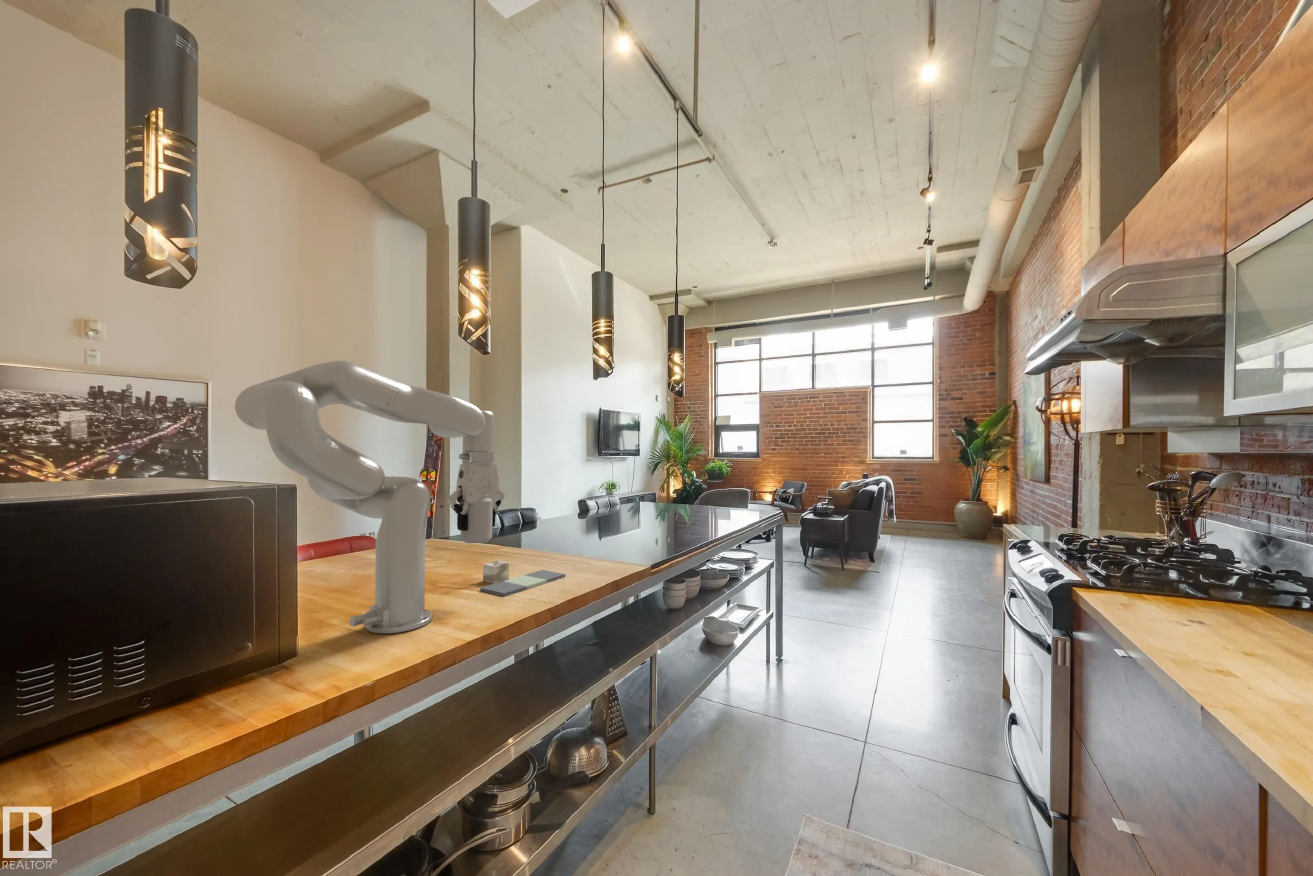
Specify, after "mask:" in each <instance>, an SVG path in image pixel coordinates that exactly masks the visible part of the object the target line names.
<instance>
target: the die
mask: <svg viewBox="0 0 1313 876" xmlns="http://www.w3.org/2000/svg"><path fill="white" fill-rule="evenodd" d="M509 571H510V562H507V561H501V560H495V561H491V562H486V563H483V564H482V582H484V581H485V582H484V583H488V582H489V583H488V584H495V583H498V582H502V581H505V580H509V579H510V572H509Z"/></svg>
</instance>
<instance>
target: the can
mask: <svg viewBox="0 0 1313 876" xmlns="http://www.w3.org/2000/svg"><path fill="white" fill-rule="evenodd" d="M480 496H481V497H482V498H480V499H479V500H478V501H476V503H475V504H469V508H468V510H467V512H466V514H468V530H467V531H462V530H460V540H462V542H464V543H466V544H483V543H488V542H489V541H490V540H491V539H492V538H493V527H492V518H493V500H491V499H490V498H488V496H489V495H480ZM463 501H464V500H463ZM463 506H464V504H463Z"/></svg>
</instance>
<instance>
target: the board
mask: <svg viewBox="0 0 1313 876" xmlns="http://www.w3.org/2000/svg"><path fill="white" fill-rule="evenodd" d="M564 576H565V577H566V573H562V572H556V571H551V570H545V569H541V570H540V569H539V570H537V571H533V572H530V573H527V574H523V575H520V576H515V577H513V578H509V580H505V581H502V582H498V583H495V584H493V583H491V584H489V585H485V586H482V587H480V589H479V590H480V592H484V593H489V594H492V595H496V596H502V597H507V596H510V595H513V594H516V593H519V592H523V591H526V590H529V589H532V588H535V587H538V586H540V584H541V585H544V584H547V583H546V582H548V583H550V582H549V581H551V582H553V581H552V580H554V581H557V580H560V579H562V577H563V578H565V577H564ZM559 578H560V579H559ZM556 579H557V580H556ZM543 583H544V584H543ZM537 585H538V586H537ZM534 586H535V587H534ZM531 587H532V588H531ZM528 588H529V589H528Z"/></svg>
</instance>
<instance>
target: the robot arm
mask: <svg viewBox="0 0 1313 876" xmlns="http://www.w3.org/2000/svg"><path fill="white" fill-rule="evenodd" d="M330 405H343V406H347V407H349V408H352V409H356V410H359V411H361V412H366V413H368V414H371V415H375V416H378V417H380V418H384V419H387V420H389V421H393V422H397V423H404V424H405V423H406V424H421V425H422V424H423V425H428V428H429V430H430V431H431V432H432V433H433V434H434V435H436V436H437V437H440V438H445V439H451V438H452V439H457V438H462V452H461V453H459V455H458V459H459V460H461V464H459V468H458V471H457V479H456V489H455V491H453V492H452V493H451V494H450V495H449V496H447V498H446V501H447V503H448V504H449V506H450V507H451V509H452V510H453V511H454V513H455V514H456V520H457V521H456V525H457V527H456V528H457V530H458V531H461V530H462V531H467V530H468V514H466V512H467V510H468V508H469V504H475V503H476V501H478V500H479V499H480V498H482V497H481V496H480V495H489V496H488V498H490V499H491V500H493V518H492V528H493V527H495V526H496V511H498V510H499V507H500V505H501V504H502V501H503V500H504V499H505V496H506V495H505V493H504V492H503V491H501V490H500V480H499V479H500V478H499V471H498V466H497V463H495V461H494V458H495V457H494V456H495V453H494V452H495V414H494V413H493V412H492V411H490V410H485V409H480V408H479V407H478V406H476V405H474V404H472V403H470V402H468V401H465V400H463V399H461V398H458V397H456V396H453V395H449V394H446V393H442V392H438V391H435V390H434V391H433V390H430V389H428V388H427V389H426V388H423V387H419V386H415V385H410V384H408V383H405V382H402V381H400V380H397V379H394V378H392V377H390V376H388V375H385V374H382V373H380V372H377V371H376V370H375V371H374V370H373V369H370V368H368V367H365V366H363V365H360V364H357V363H355V362H352V361H347V360H334V361H333V360H332V361H327V362H322V363H316V364H313V365H310V366H307V367H305V368H301V369H299V370H296V371H294V372H291V373H287V374H284V375H280V376H277V377H274V378H272V379H269V380H265V381H262V382H260V383H256V384H253V385H250V386H248V387H246V388H245V389H243V390H242V391H241V392H240V393H239V394H238V395H237V398H236V399H235V403H234V410H235V414H236V416H237V417H238V419H240V421H241V422H243V423H244V424H245V425H246V426H248V427H251V428H253V429H256V430H262V431H263V430H265V431H266V436H267V438H268V442H269V444H270V447H271V450H272V452H273V454H274V455H275V457H276V459H278V461H279V462H281V464H283V465H284V466H285V467H287V468H288V469H290V470H291V471H293V472H295V473H297V474H299V475H301V476H303V477H305V478H306V479H307V483H308V485H309V487H310V489H311V490H312V491H313V492H314V493H315V494H316V495H317V496H319V497H320V498H323V499H325V500H327V501H329V502H331V503H333V504H335V505H338V506H340V507H343V508H345V509H347V510H349V511H352V512H354V513H357V514H358V515H361V516H364V517H366V518H367V517H368V518H371V519H377V520H378V519H379V520H381V521H380V525H379V527H378V531H377V535H376V539H375V570H374V571H375V573H374V574H375V579H374V580H375V581H374V582H375V583H374V586H375V587H374V605H373V604H372V605H369V610H367V611H366V612H365V613H362V614H358V615H353V616H350V618H349V619H348V620H349V626H350V627H351V628H353V627H356V626H359V625H363V626H364V627H366V629H365V630H367V631H368V632H370V633H374V634H383V635H384V634H387V635H388V634H397V633H402V632H408V631H412V630H416V629H418V628H421V627H424V626H426V625H427V624H429V623H430V622H431V621H432V620H433V612H432V611H430V610H428V609H426V608H425V606H426V605H425V598H426V597H425V593H426V590H425V589H426V582H425V581H426V578H425V577H426V532H427V522H428V521H427V520H428V515H429V513H430V508H431V494H430V491H429V489H428V487H427V485H426V484H425V483H423V482H422V481H421V480H418V479H416V478H415V477H411V476H410V477H409V476H395V475H393V476H388V475H387V476H386V474H385V471H384V469H383V468H382V466H381V465H380V463H378V462H377V461H376V460H375V459H373V458H371V457H370V456H368V455H366V454H365V453H364V454H363V453H362V452H360V451H358V450H356V449H354V448H352V447H350V446H348V445H346V444H345V443H343V442H341V441H340V440H337V439H336V438H335V437H333V436H332V435H330V434H329V433H327V432H326V430H324V428H323V426H322V424H321V422H320V416H319V415H320V414H319V409H322V408H324V407H327V406H330ZM463 500H464V501H463ZM463 504H464V506H463Z"/></svg>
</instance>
